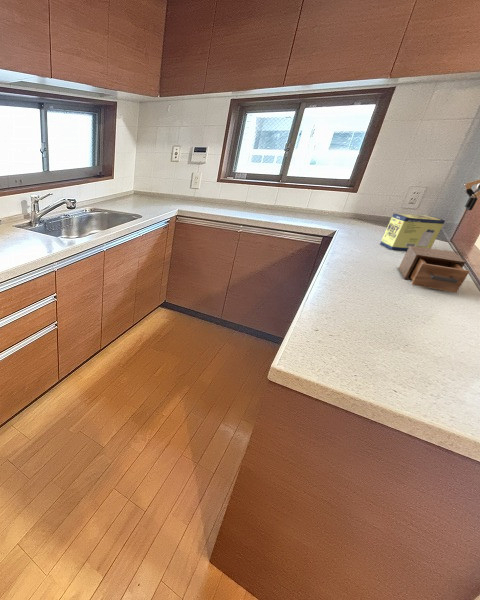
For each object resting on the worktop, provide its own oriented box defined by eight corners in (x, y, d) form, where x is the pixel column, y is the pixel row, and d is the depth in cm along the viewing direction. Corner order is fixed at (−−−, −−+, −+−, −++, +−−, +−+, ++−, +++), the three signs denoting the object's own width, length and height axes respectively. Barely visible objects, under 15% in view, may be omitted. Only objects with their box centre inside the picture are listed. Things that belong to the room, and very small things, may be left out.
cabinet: (450, 287, 116) (465, 262, 111) (404, 279, 122) (416, 254, 118) (440, 275, 126) (454, 251, 122) (398, 268, 133) (409, 245, 129)
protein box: (378, 243, 165) (392, 213, 158) (415, 246, 162) (431, 215, 155) (390, 249, 156) (405, 217, 149) (429, 253, 153) (446, 220, 146)
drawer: (461, 297, 106) (474, 275, 102) (414, 289, 111) (425, 267, 108) (446, 280, 119) (457, 260, 116) (405, 273, 125) (415, 254, 121)
